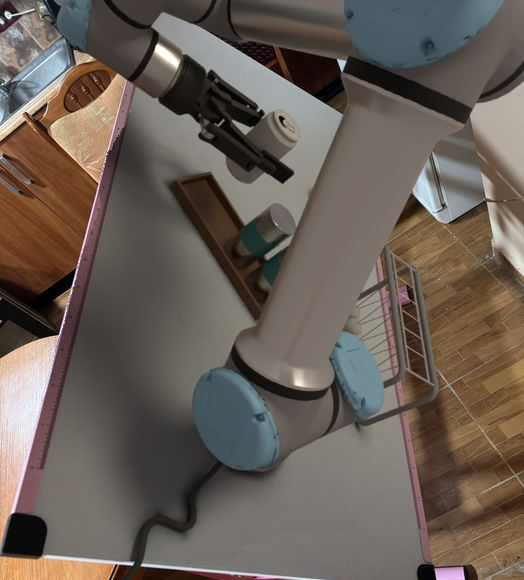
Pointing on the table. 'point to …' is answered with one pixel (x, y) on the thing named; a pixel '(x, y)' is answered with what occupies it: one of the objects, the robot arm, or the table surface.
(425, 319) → the newton's cradle
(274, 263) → the tray can
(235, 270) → the can tray
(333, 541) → the table surface
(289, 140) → the beverage can
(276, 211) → the tray can
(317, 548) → the table surface
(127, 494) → the table surface
